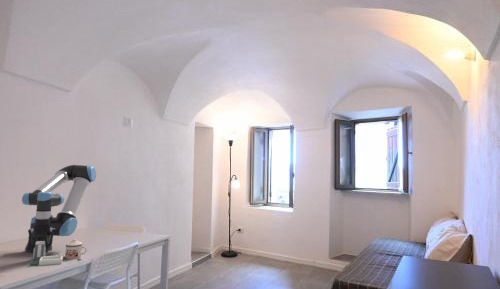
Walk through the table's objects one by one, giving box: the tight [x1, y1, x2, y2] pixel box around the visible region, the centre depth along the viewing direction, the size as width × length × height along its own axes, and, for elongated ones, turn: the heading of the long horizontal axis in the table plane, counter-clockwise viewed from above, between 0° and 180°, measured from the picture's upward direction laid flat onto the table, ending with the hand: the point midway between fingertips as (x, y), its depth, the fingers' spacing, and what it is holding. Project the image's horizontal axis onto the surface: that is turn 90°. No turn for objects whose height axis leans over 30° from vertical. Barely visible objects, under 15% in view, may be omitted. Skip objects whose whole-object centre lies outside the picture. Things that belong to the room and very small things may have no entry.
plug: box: [34, 241, 45, 261], centre depth 185 cm, size 5×4×10 cm
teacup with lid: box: [64, 238, 88, 260], centre depth 195 cm, size 12×9×12 cm
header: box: [39, 254, 64, 265], centre depth 181 cm, size 8×11×3 cm
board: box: [26, 252, 62, 268], centre depth 182 cm, size 18×16×3 cm
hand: (38, 258), depth 185 cm, fingers closed on plug, 4 cm apart
